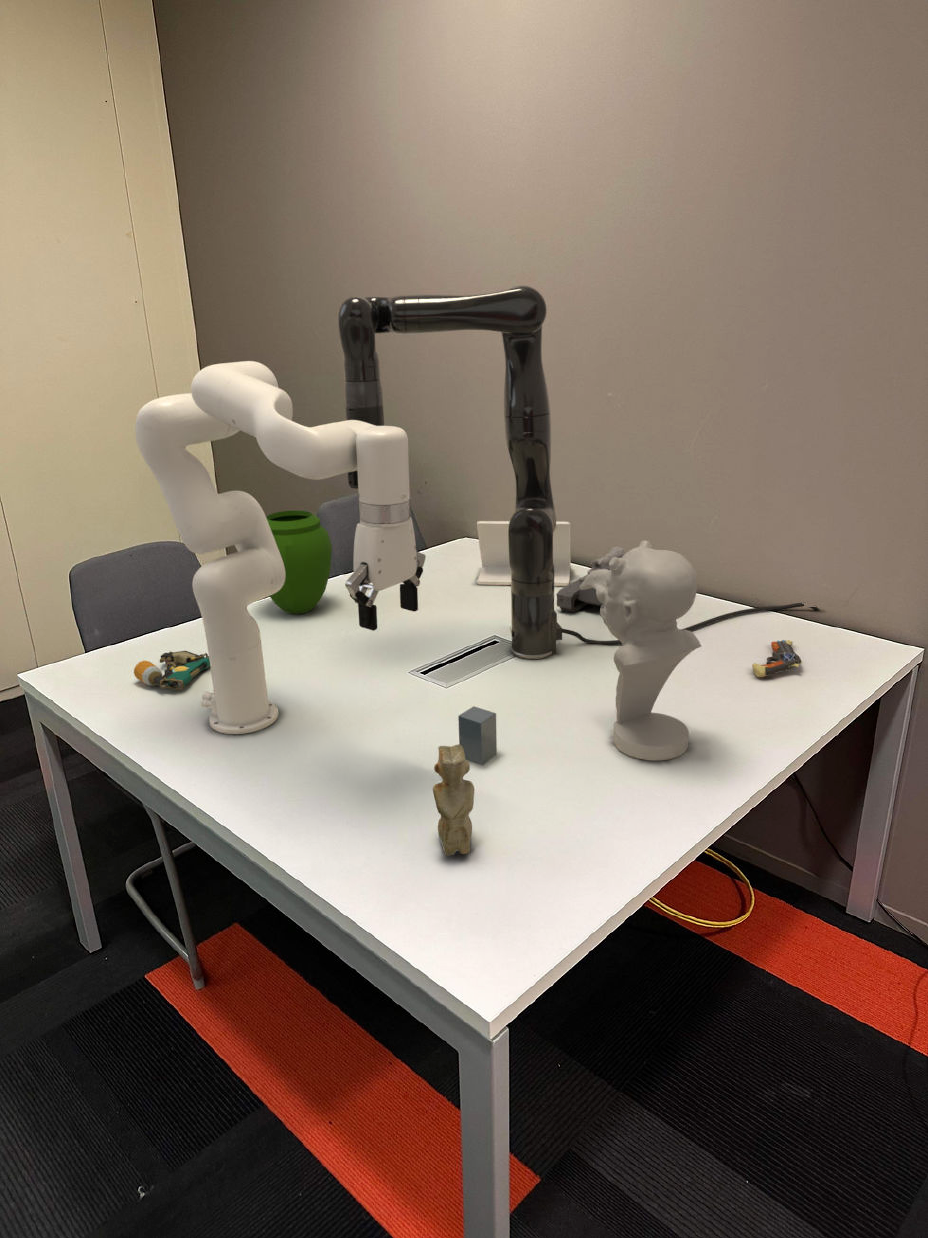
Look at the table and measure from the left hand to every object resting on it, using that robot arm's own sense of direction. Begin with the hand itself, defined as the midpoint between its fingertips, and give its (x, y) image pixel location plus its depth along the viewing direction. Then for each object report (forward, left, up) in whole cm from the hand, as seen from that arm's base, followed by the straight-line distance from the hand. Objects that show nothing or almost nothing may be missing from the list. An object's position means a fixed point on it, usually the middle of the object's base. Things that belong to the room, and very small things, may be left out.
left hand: (389, 618), depth 133 cm
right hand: (-24, +44, +11) cm, 51 cm away
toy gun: (+58, +63, -27) cm, 90 cm away
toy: (+20, +89, -27) cm, 95 cm away
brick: (+11, +8, -27) cm, 30 cm away
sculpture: (+17, -17, -27) cm, 36 cm away
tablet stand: (-9, +107, -27) cm, 110 cm away
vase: (-57, +64, -27) cm, 90 cm away
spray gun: (-61, +21, -27) cm, 69 cm away
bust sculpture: (+35, +22, -27) cm, 49 cm away
